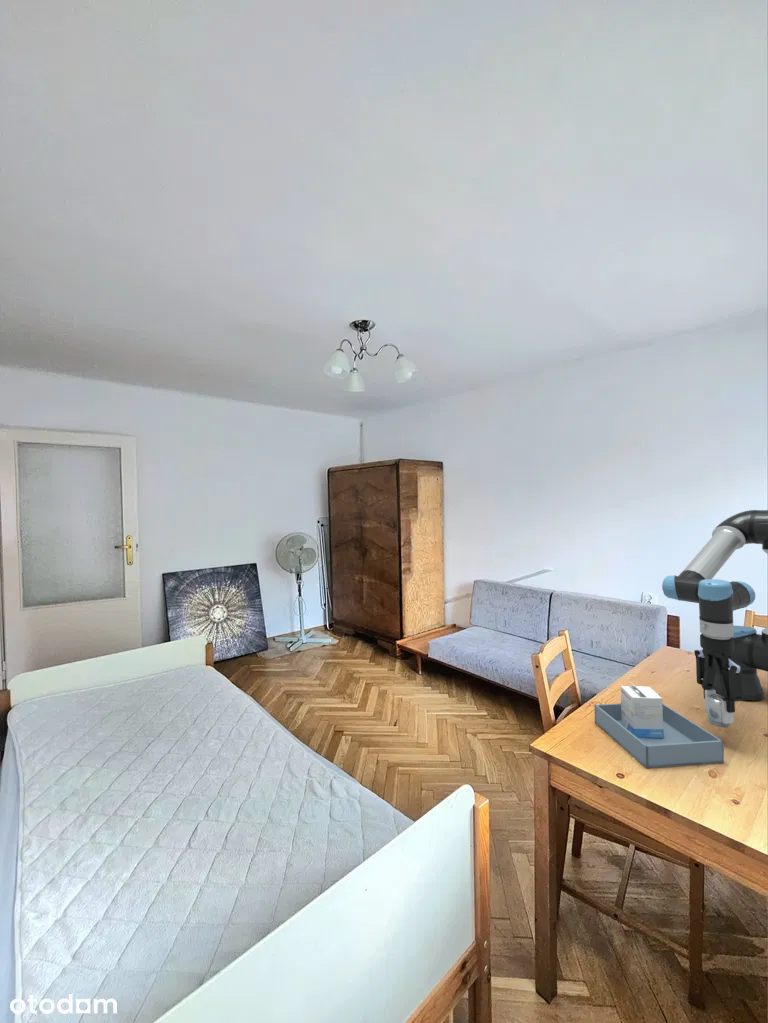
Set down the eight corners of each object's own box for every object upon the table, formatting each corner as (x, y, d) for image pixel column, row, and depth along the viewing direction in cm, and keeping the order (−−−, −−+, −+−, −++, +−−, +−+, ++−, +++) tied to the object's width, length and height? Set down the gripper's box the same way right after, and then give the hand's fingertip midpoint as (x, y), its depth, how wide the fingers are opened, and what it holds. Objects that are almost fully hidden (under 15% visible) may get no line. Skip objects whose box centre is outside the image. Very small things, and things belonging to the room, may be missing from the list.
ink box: (664, 739, 120) (663, 692, 120) (633, 737, 121) (632, 691, 121) (650, 723, 129) (649, 680, 129) (620, 722, 130) (619, 679, 130)
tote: (659, 718, 133) (659, 700, 133) (723, 762, 110) (723, 741, 110) (594, 722, 131) (594, 704, 131) (646, 768, 108) (645, 746, 108)
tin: (719, 717, 122) (718, 693, 122) (735, 726, 117) (734, 701, 117) (703, 719, 121) (702, 695, 121) (718, 728, 116) (717, 703, 116)
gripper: (679, 627, 127) (682, 703, 128) (732, 647, 109) (735, 735, 110) (702, 625, 128) (705, 701, 128) (759, 645, 110) (762, 733, 110)
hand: (719, 717), depth 119 cm, fingers closed on tin, 5 cm apart
